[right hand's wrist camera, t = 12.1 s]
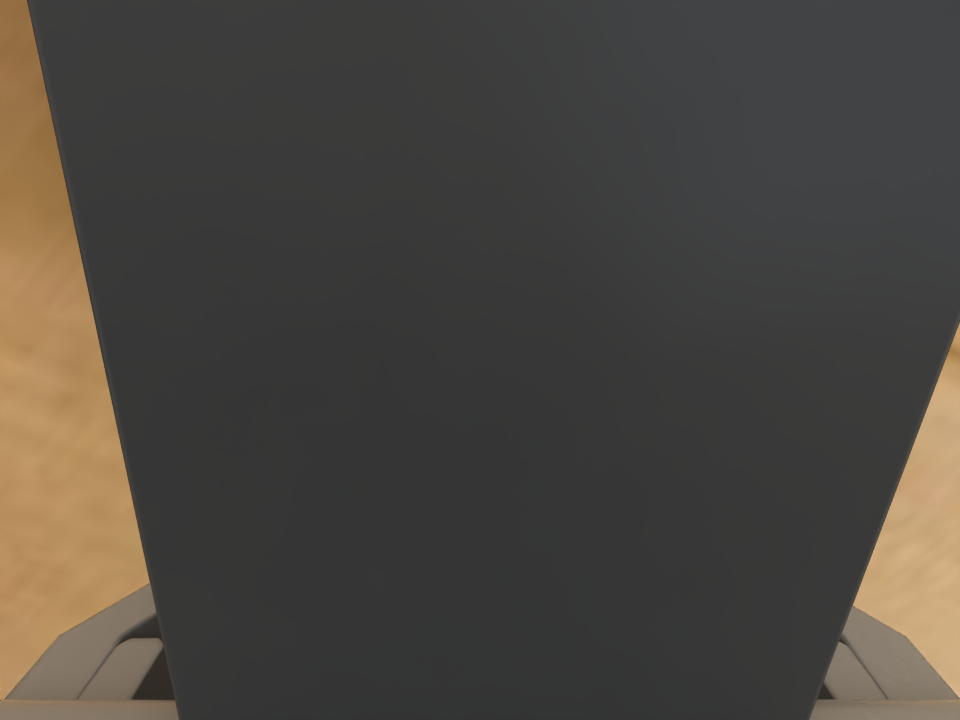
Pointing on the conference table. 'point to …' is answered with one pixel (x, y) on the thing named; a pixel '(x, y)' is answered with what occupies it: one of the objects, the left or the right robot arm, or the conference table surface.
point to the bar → (510, 337)
